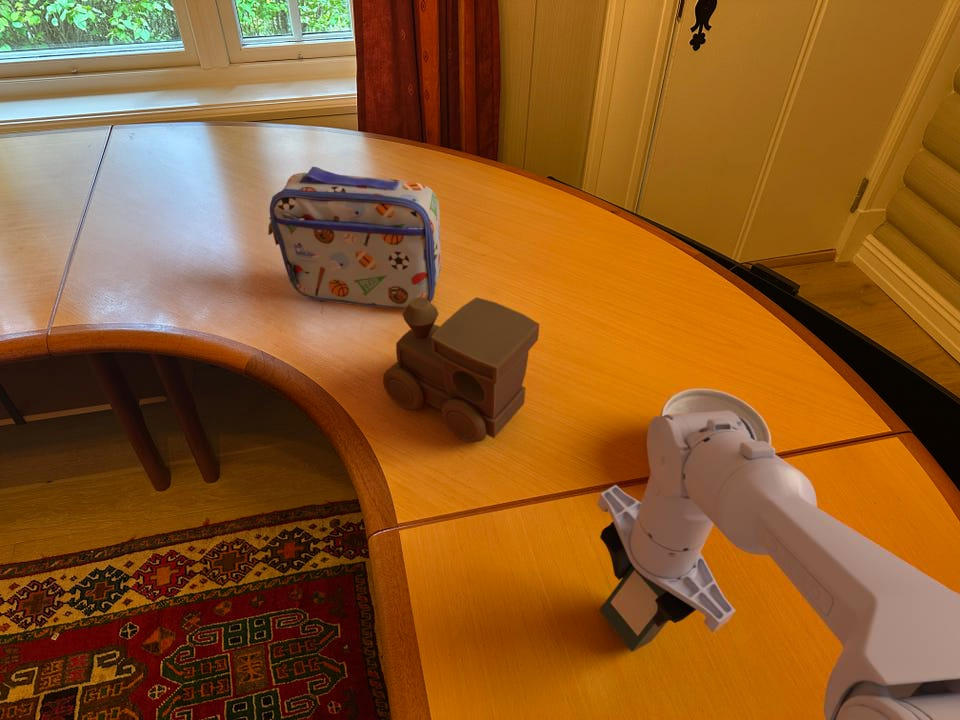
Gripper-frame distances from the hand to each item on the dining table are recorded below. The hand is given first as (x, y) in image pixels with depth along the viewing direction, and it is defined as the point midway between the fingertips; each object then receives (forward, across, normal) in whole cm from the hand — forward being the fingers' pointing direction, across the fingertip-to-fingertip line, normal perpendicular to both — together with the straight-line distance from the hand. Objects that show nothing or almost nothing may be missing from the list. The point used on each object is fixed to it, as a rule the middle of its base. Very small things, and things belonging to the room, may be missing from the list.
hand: (643, 595), depth 59 cm
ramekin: (+7, +11, -22) cm, 26 cm away
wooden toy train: (+7, +37, 0) cm, 38 cm away
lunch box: (+7, +68, 0) cm, 68 cm away
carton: (+2, 0, -2) cm, 3 cm away
